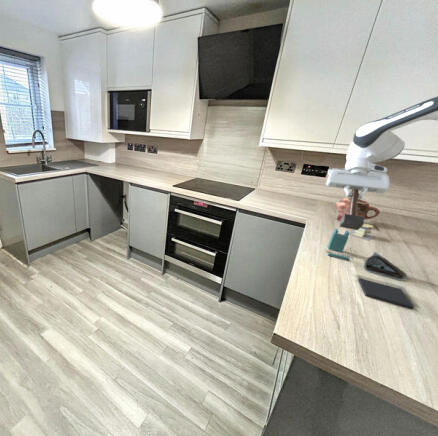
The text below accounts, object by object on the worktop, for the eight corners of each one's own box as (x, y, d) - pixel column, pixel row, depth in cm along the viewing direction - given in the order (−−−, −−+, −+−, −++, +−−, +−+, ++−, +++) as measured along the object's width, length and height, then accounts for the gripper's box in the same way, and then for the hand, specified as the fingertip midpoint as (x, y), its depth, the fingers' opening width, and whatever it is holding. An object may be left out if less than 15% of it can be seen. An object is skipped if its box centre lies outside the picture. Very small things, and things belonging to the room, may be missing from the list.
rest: (343, 250, 104) (351, 231, 101) (348, 260, 96) (357, 240, 93) (324, 246, 108) (331, 227, 104) (328, 255, 99) (335, 236, 96)
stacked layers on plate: (368, 240, 116) (373, 230, 114) (346, 233, 123) (350, 223, 121) (375, 236, 121) (379, 226, 119) (353, 230, 128) (357, 220, 126)
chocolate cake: (402, 274, 89) (380, 246, 92) (410, 278, 83) (387, 248, 86) (372, 283, 93) (353, 256, 96) (378, 288, 87) (357, 258, 90)
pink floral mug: (372, 225, 137) (382, 202, 132) (372, 230, 129) (383, 206, 124) (331, 215, 149) (338, 194, 144) (328, 220, 141) (336, 198, 136)
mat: (399, 291, 78) (400, 288, 78) (412, 309, 70) (414, 306, 70) (357, 280, 83) (358, 277, 83) (365, 295, 75) (366, 293, 75)
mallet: (351, 221, 102) (364, 189, 97) (360, 233, 90) (375, 196, 85) (334, 218, 105) (346, 187, 100) (340, 229, 93) (354, 194, 88)
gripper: (330, 162, 103) (326, 188, 99) (392, 168, 94) (391, 197, 90) (326, 171, 109) (321, 196, 104) (384, 178, 99) (382, 205, 95)
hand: (354, 197), depth 97 cm, fingers closed on mallet, 2 cm apart
